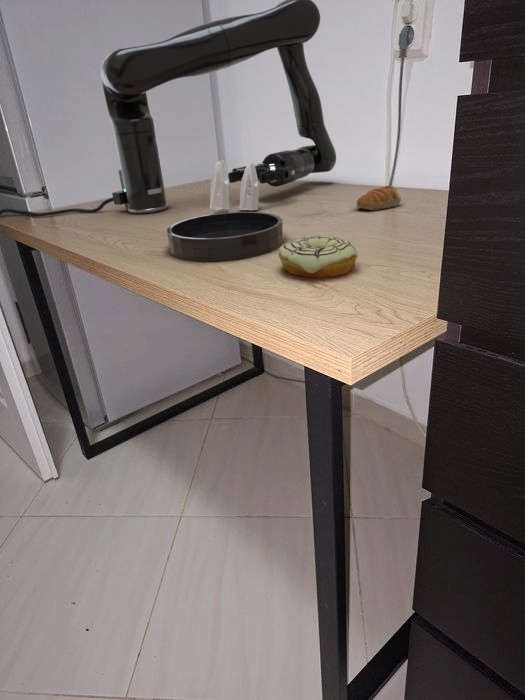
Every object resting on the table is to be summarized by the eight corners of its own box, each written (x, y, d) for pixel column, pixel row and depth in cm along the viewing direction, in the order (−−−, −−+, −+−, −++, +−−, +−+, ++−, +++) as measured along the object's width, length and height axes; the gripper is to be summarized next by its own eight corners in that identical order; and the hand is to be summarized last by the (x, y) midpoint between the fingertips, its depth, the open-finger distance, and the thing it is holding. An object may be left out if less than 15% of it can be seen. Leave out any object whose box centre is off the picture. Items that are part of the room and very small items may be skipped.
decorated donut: (313, 287, 63) (312, 258, 62) (265, 269, 72) (263, 243, 70) (371, 267, 68) (372, 240, 67) (321, 253, 77) (320, 228, 75)
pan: (146, 254, 84) (142, 233, 82) (218, 227, 98) (216, 209, 96) (238, 267, 73) (235, 243, 72) (304, 235, 87) (303, 215, 86)
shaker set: (211, 218, 106) (204, 163, 101) (206, 215, 109) (199, 161, 104) (263, 210, 109) (259, 156, 104) (256, 207, 113) (252, 155, 108)
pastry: (373, 213, 99) (373, 193, 97) (348, 209, 103) (348, 191, 102) (403, 204, 104) (404, 185, 102) (377, 202, 108) (378, 183, 107)
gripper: (258, 151, 124) (217, 160, 112) (308, 151, 116) (270, 160, 104) (260, 183, 127) (221, 194, 115) (309, 184, 119) (272, 197, 108)
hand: (244, 178), depth 110 cm, fingers open, 8 cm apart
